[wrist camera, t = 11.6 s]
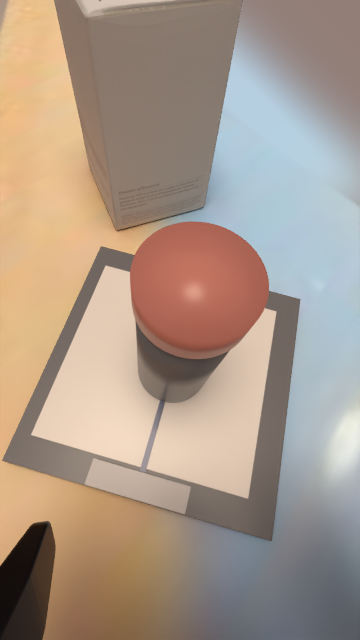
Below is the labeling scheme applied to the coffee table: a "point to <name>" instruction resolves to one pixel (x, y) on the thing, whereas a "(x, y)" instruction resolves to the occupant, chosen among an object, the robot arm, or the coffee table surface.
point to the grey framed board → (162, 412)
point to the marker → (192, 304)
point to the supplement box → (149, 97)
